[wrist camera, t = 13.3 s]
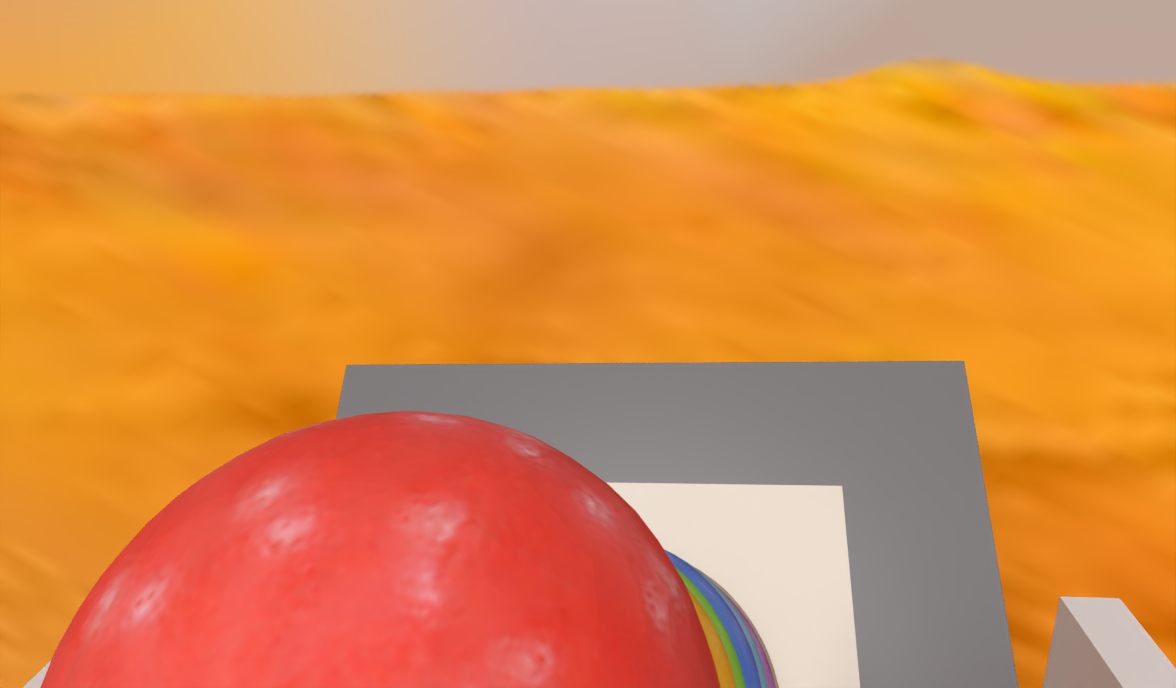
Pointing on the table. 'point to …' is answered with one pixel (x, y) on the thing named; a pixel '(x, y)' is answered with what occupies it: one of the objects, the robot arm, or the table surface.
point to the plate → (778, 495)
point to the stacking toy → (405, 575)
